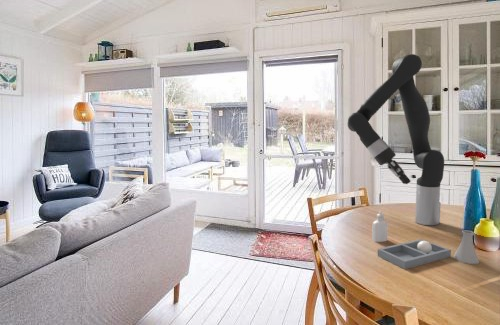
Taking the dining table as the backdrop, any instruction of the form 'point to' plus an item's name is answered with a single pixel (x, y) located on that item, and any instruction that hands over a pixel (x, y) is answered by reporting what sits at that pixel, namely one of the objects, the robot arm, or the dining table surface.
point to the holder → (412, 254)
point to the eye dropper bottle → (379, 229)
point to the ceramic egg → (424, 247)
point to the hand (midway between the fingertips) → (407, 182)
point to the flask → (466, 249)
